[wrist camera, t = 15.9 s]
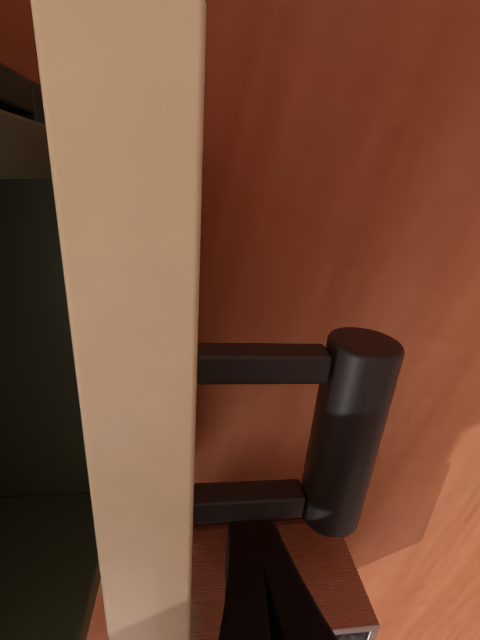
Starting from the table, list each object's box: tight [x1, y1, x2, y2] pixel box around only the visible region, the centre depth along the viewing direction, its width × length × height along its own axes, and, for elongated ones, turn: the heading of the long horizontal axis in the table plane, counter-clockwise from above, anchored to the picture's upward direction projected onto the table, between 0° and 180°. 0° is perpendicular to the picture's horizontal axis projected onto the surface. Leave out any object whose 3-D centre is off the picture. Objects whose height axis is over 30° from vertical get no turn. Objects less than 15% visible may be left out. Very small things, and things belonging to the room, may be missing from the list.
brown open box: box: [190, 519, 380, 640], centre depth 14 cm, size 5×7×4 cm
